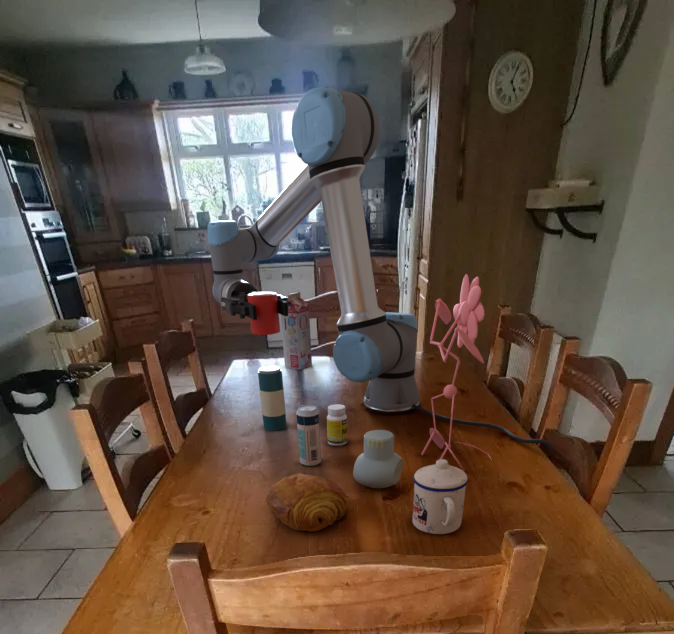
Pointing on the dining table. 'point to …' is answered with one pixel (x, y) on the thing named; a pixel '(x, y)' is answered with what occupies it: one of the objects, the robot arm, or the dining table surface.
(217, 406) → the dining table surface
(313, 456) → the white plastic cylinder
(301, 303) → the juice carton
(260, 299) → the cap
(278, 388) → the spray can
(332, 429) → the supplement bottle
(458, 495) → the teacup with lid
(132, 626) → the dining table surface
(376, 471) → the air freshener
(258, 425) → the dining table surface
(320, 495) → the croissant
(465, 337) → the figurine
